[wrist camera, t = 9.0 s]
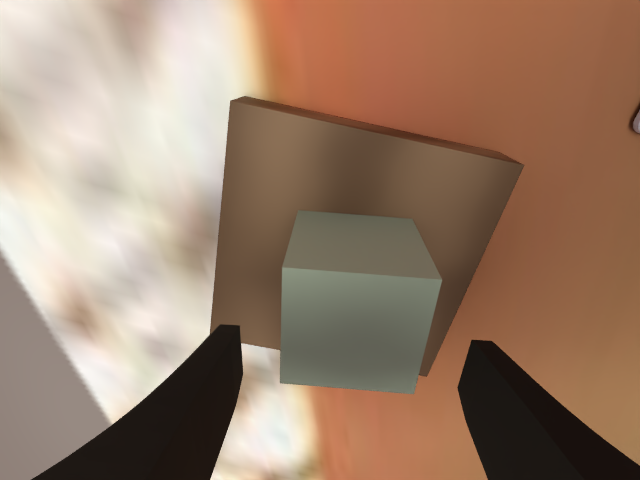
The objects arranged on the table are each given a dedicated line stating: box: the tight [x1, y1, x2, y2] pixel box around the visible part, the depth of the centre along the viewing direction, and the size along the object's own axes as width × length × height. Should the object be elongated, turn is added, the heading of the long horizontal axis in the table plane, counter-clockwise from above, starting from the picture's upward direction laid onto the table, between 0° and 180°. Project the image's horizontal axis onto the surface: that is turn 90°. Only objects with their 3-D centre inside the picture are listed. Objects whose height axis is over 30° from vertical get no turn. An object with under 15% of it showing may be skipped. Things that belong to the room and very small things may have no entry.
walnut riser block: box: [210, 96, 524, 377], centre depth 18 cm, size 12×12×3 cm
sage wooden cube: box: [280, 210, 442, 394], centre depth 14 cm, size 5×5×5 cm
